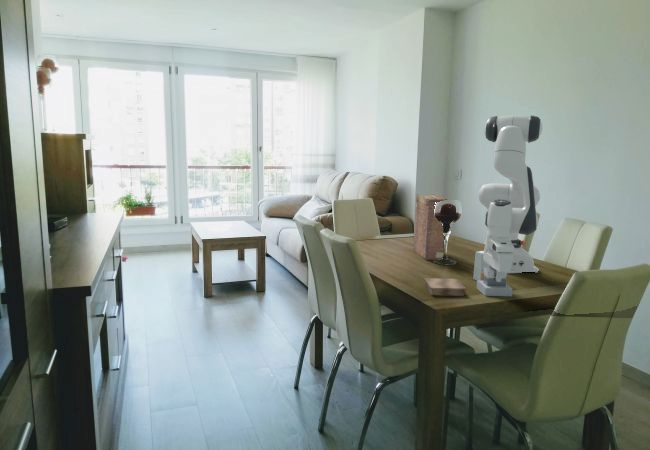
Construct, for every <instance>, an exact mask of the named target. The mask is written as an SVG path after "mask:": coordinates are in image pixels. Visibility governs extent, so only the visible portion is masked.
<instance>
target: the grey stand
mask: <svg viewBox="0 0 650 450" xmlns="http://www.w3.org/2000/svg"><path fill="white" fill-rule="evenodd" d="M476 289H477V290H479V292H480V293H482V295H484V296H487V297H488V296H489V297H513V287H511V286H510V285H509V284H507V283H506V286H487V285H486V284H484V283H483V281H479V280H476Z"/></svg>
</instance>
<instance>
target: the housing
mask: <svg viewBox="0 0 650 450" xmlns="http://www.w3.org/2000/svg"><path fill="white" fill-rule="evenodd" d="M496 271H497V270H496V269H494V268H488V267H484V280H483V283H484V284H486V285H487V286H506V284H507V278H508V277H507V276H508V273H503V276H502V278H501V282H497V281H496V280H495V276H496V275H497V272H496Z"/></svg>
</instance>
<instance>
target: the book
mask: <svg viewBox="0 0 650 450" xmlns="http://www.w3.org/2000/svg"><path fill="white" fill-rule="evenodd" d="M444 200H448V199H447V198H445V197H442V196H440V195H436V194H432V195H428V194H427V195H421V194H416V200H415V201H416V202H415V216H414V217H415V219H414V220H415V221H414V235H413V236H414V237H413V250H414V251H415V252H416V253H417V254H418V255H420V257H422V258H423V259H424V260H426V261H427V260H428V261H439V260H438V259H442V258H443V257H444V258H445V249H444V240H445V241H446V235H445V236H444V235H443V227H442V224H441V223H440V222H439V221H437V220H436V219H437V218H435V216H434V209H435V206H434V205H436V204H435V202H436V203H437V202H440V201H444Z"/></svg>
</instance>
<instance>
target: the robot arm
mask: <svg viewBox="0 0 650 450" xmlns="http://www.w3.org/2000/svg"><path fill="white" fill-rule="evenodd" d="M483 132H484V135H485V139H487V141H489V142H492V143H495V145H494V151H493V168H494V169H495V170H496V172H497V173H499V174H500V175H501V176H502V177H505V178H507V179H508V180H509V181H510V182H511V183H500V182H492V183H486V184H485V183H484V184H483V185H482V186H481V187H480V189H479V190H478V194H477V195H478V200H479V202H480V204H481V205H483V207H485V209H487V211H486V213H485V222H484V225H485V226H486V227H487V230H486V233H485V244H484V248H483V251H484V255H483V260H484V262H486V263H487V264H488V268H494V269H496V270H497V271H496V272H497V275H496V276H495V280H496V281H497V282H501V278H502V276H503V273H507V274H523V273H522V272H535V273H539V272H538V271H540V269H539V268H538V267H537V266H535V262H534V258H533V256H532V255H531V254H530V253H529V252H528V251H526V250H525V249H524V248H523V247H522V246H526V244H527V242H526V241H525V240H521V239H519V235H525V236H529V235H531V234H533V233H534V232H536V231H537V229H538V226H539V217H538V212H537V210H536V206H537V205H538V204H539V202H540V199H541V193H540V190H539V189H538V187H537V186H535V184H534V179H533V172H532V169H531V168H530V167H529V166H527V164H526V152H527V144H526V143H528V144H530V143H532V142H536V141H537V140H538V139H539V138H540V137H541V135H542V132H543V123H542V121H541V119H540V117H539V116H536V115H523V114H513V115H501V116H498V115H495V116H491V117H488V119H487V120H486V123H485V124H484V129H483Z"/></svg>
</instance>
